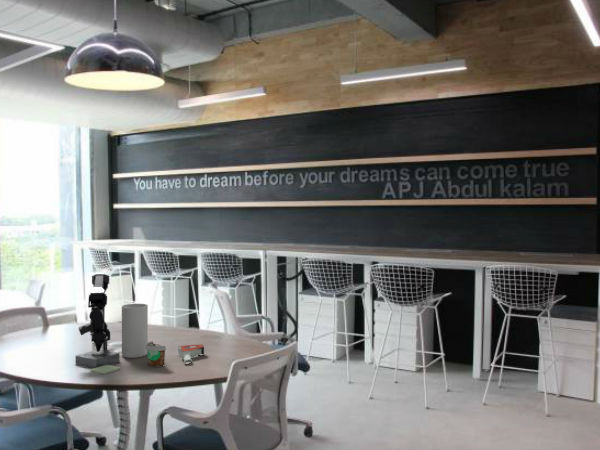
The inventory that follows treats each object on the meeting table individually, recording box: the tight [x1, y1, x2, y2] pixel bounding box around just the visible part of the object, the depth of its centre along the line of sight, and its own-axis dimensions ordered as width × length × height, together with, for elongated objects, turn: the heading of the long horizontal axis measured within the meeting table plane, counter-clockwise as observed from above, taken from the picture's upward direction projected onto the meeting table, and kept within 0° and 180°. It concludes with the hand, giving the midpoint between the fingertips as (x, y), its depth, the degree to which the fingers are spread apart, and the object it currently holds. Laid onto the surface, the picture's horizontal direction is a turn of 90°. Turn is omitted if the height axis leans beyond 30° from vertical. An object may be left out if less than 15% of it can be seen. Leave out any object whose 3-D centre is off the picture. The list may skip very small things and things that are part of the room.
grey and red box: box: [177, 344, 205, 364], centre depth 278 cm, size 18×5×20 cm
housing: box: [75, 350, 120, 369], centre depth 269 cm, size 14×14×4 cm
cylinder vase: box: [121, 303, 149, 359], centre depth 283 cm, size 12×12×25 cm
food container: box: [146, 340, 167, 367], centre depth 265 cm, size 12×6×10 cm, turn 45°
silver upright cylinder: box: [91, 342, 103, 356], centre depth 269 cm, size 5×5×9 cm
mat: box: [90, 364, 121, 375], centre depth 257 cm, size 9×9×1 cm
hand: (97, 350), depth 269 cm, fingers closed on silver upright cylinder, 5 cm apart
